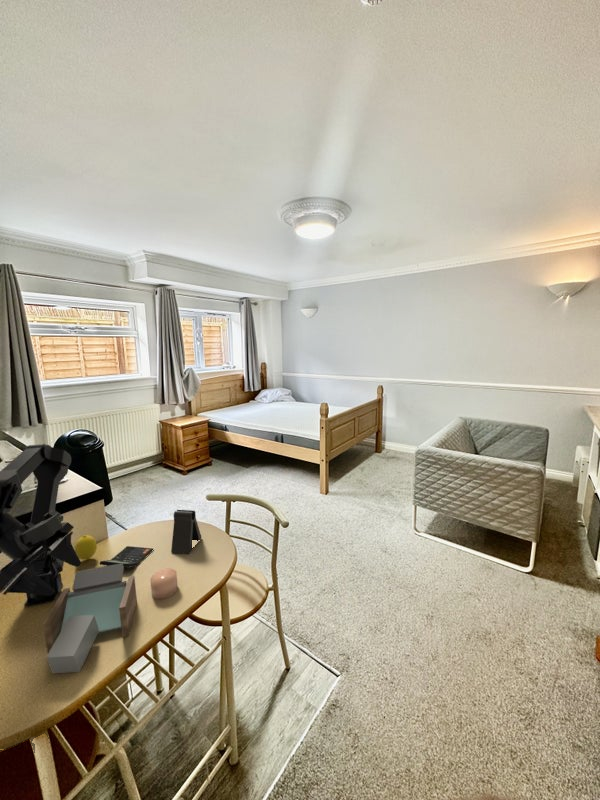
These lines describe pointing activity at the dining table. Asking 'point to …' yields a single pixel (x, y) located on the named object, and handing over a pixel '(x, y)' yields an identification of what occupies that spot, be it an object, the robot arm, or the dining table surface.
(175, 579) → the pink rounded block
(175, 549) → the dark folding easel stand
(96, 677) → the dining table surface
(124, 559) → the calculator
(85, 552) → the lemon
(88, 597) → the trapdoor
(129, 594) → the frame
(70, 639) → the gray rectangular block
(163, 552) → the dining table surface
